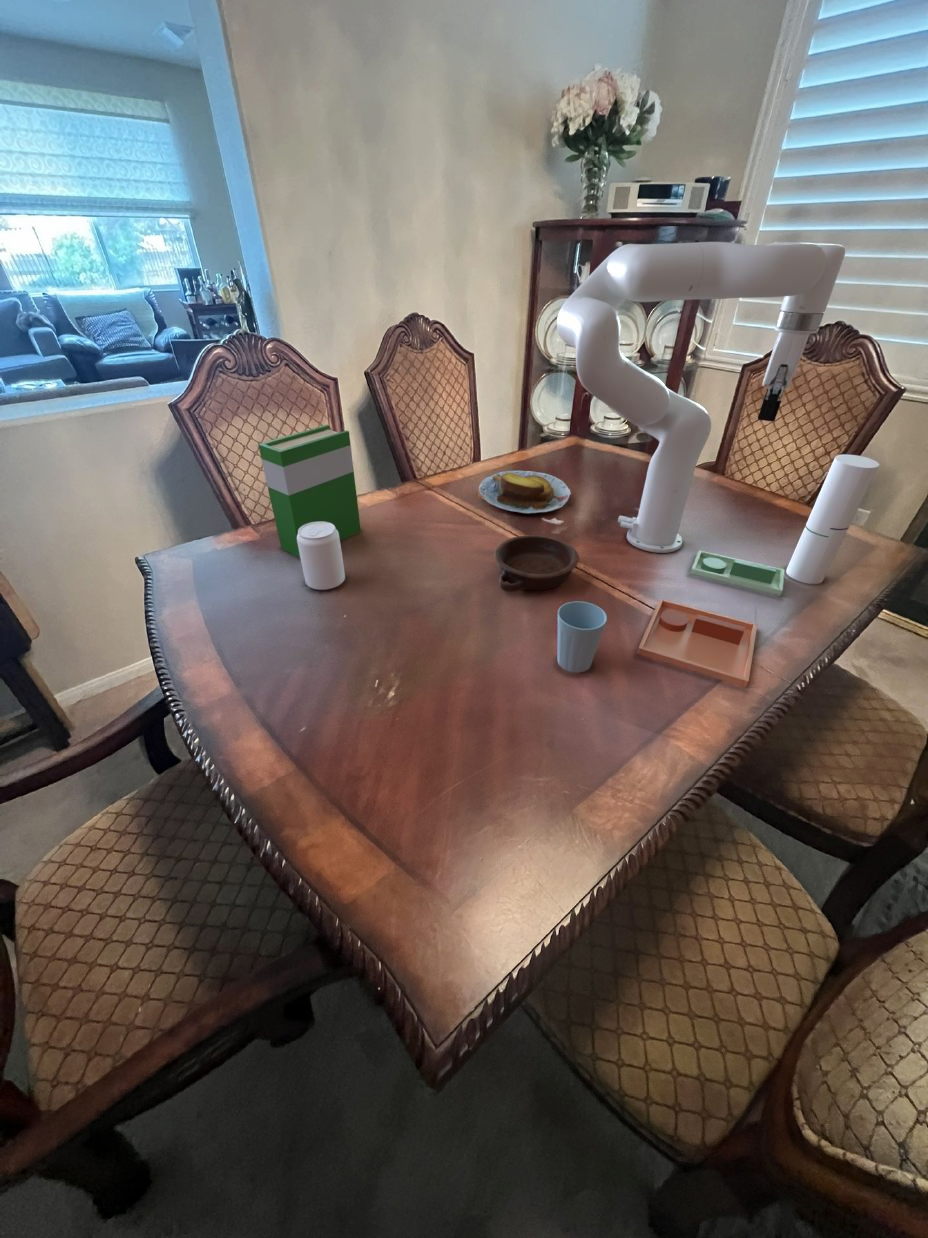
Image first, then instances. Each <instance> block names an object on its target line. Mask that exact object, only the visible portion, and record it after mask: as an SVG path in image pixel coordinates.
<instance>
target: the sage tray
mask: <svg viewBox="0 0 928 1238" xmlns="http://www.w3.org/2000/svg"><path fill="white" fill-rule="evenodd" d="M705 558H717V559H720V560H722V561H724V562H725V563H726V565H727V566H726V569H725V572H724V573H722V574H717V573H713V572H709V571H705V570H703V569H702V568H701V565H702V561H703V560H704V559H705ZM735 559H737V560H742V561H746V562H751V563H755V564H759V565H764V566H768V567H773V568H777V569H776V573H775V576H774V578H773V581H772V583H771V584H768V583H764V582H760V581H756V580H752V579H747V578H743V577H739V576H735V575H730V571H731V568H732V565H733V563H734V560H735ZM785 572H786V570H785V569H784V568H781V567H775V566H771V565H768V564H767V565H766V564H762V563H757V562H753V561H749V560H745V559H741V558H740V559H739V558H736V557H732V556H726V555H722V554H718V553H713V552H709V551H705V550H700V549H698V550H697V554H696V556H695V559H694V562H693V564H692V566H691V569H690V572H689V575H690V576H694V577H699V578H703V579H706V580H711V581H713V582H714V581H715V582H718V583H723V584H727V585H731V586H735V587H739V588H743V589H747V590H752V591H755V592H760V593H763V594H768V595H772V596H777V597H781V596H782V594H783V592H784V591H783V590H784V581H785Z"/></svg>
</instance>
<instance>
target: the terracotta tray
mask: <svg viewBox="0 0 928 1238" xmlns="http://www.w3.org/2000/svg"><path fill="white" fill-rule="evenodd" d="M668 610H673V611H677V612H680V613H682V614H684V615H685V616H686V617H687V619H688V623H687V626H686V628H685V629H684V630H683V631H679V632H674V631H669V630H667V629H665V628H663V627H662V626H661V625H660V623H659V619H660V616H661V613H662V612H664V611H668ZM697 614H699V615H703V616H706V617H710V618H714V619H717V620H721V621H725V622H728V623H732V624H736V625H739V626H743V627H745V630H744V634H743V636H742V638H741V641H740V643H739V645H737V644H733V643H730V642H726V641H723V640H719V639H716V638H712V637H709V636H705V635H702V634H698V633H695V632H692V628H693V625H694V622H695V619H696V616H697ZM645 629H646V630H645V632H644V634H643V635H642V636H643V637H642V639H641V641H640V643H639V646H638V649H637V652H636V654H638V655H641V656H644V657H647V658H650V659H654V660H657V661H660V662H663V663H667V664H670V665H673V666H676V667H680V668H683V669H686V670H689V671H693V672H695V673H699V674H702V675H706V676H707V677H710V678H711V677H712V678H715V679H718V680H721V681H725V682H728V683H731V684H733V685H737V686H741V687H744V688H747V687H748V685H749V681H750V676H751V671H752V670H751V669H752V663H753V657H754V651H755V643H756V638H757V637H756V636H757V631H758V623H754V622H751V621H747V620H744V619H739V618H736V617H732V616H728V615H725V614H721V613H717V612H714V611H710V610H706V609H702V608H698V607H695V606H690V605H687V604H683V603H679V602H676V601H672V600H669V599H664V598H661V597H660V598H659V600H658V602H657V604H656V607H655V609H654V610H653V613H652V616H651V618H650V620H649V623H648V625H647V626H646V628H645Z"/></svg>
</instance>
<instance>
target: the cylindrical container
mask: <svg viewBox="0 0 928 1238" xmlns="http://www.w3.org/2000/svg"><path fill="white" fill-rule="evenodd" d="M879 467H880V463H879V462H878V461H877V460H875V459H873V458H870V457H867V456H864V455H863V456H862V455H856V454H847V453H846V454H844V453H843V454H837V455H835V456H834V459H833V461H832V463H831V466H830V467H829V470H828V473H827V475H826V477H825V479H824V482H823V484H822V486H821V489H820V491H819V493H818V495H817V498H816V500H815V503H814V505H813V507H812V510H811V512H810V514H809V517H808V519H807V521H806V523H805V526H804V528H803V531H802V533H801V535H800V538H799V540H798V542H797V544H796V547H795V549H794V552H793V553H792V556H791V558H790V561H789V563H788V565H787V568H786V570H785V572H786V575H788V577H790V578H791V579H793V580H795V581H797V582H800V583H802V584H803V583H804V584H808V585H818V584H822V583H823V582H824V579H825V578H826V576H827V574H828V571H829V570H830V568H831V566H832V563H833V562H834V559H835V557H836V556H837V553H838V552H839V549H840V547H841V545H842V543H843V541H844V538H845V537H846V534H847V532H848V531H849V529H850V526H851V524H852V522H853V520H854V519H855V516H856V514H857V512H858V510H859V508H860V507H861V504H862V502H863V500H864V498H865V496H866V494H867V492H868V489H869V487H870V485H871V483H872V481H873V479H874V477H875V475H876V473H877V471H878V469H879Z"/></svg>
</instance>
